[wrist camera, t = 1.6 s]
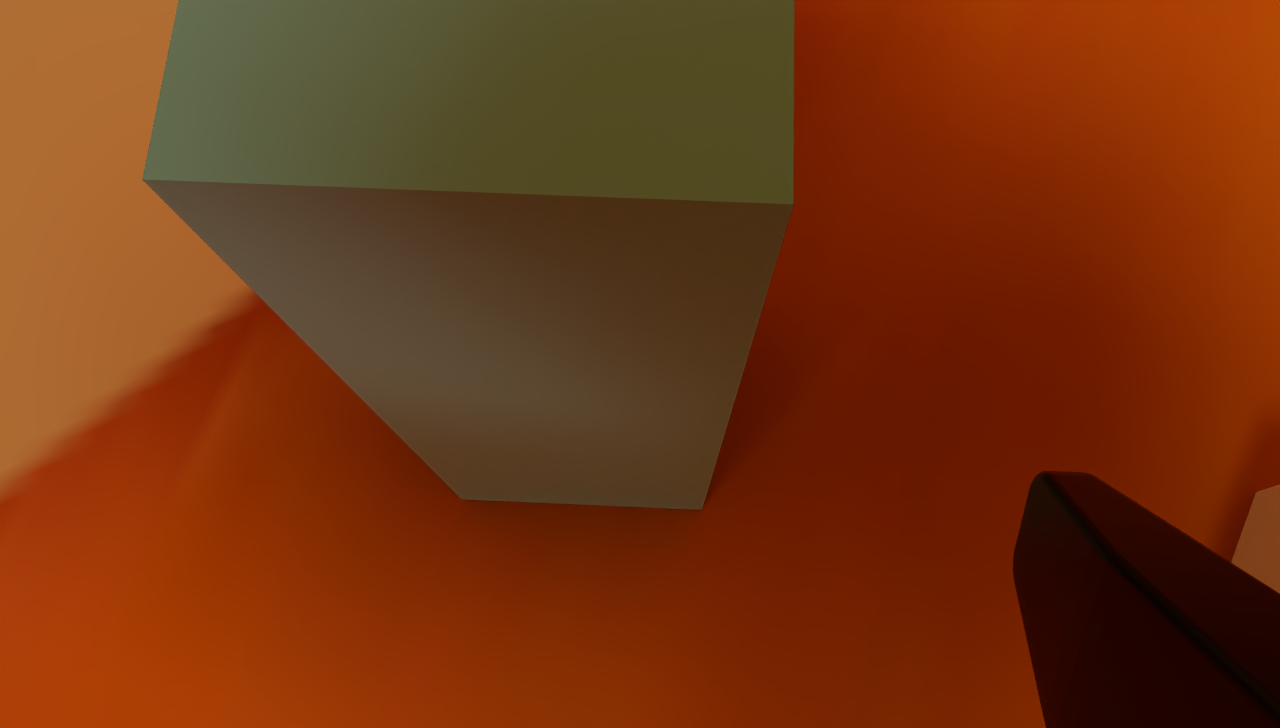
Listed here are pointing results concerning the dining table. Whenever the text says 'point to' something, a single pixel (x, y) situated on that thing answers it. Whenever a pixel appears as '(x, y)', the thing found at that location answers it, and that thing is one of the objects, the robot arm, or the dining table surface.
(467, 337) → the tall block
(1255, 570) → the base plate
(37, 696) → the dining table surface
